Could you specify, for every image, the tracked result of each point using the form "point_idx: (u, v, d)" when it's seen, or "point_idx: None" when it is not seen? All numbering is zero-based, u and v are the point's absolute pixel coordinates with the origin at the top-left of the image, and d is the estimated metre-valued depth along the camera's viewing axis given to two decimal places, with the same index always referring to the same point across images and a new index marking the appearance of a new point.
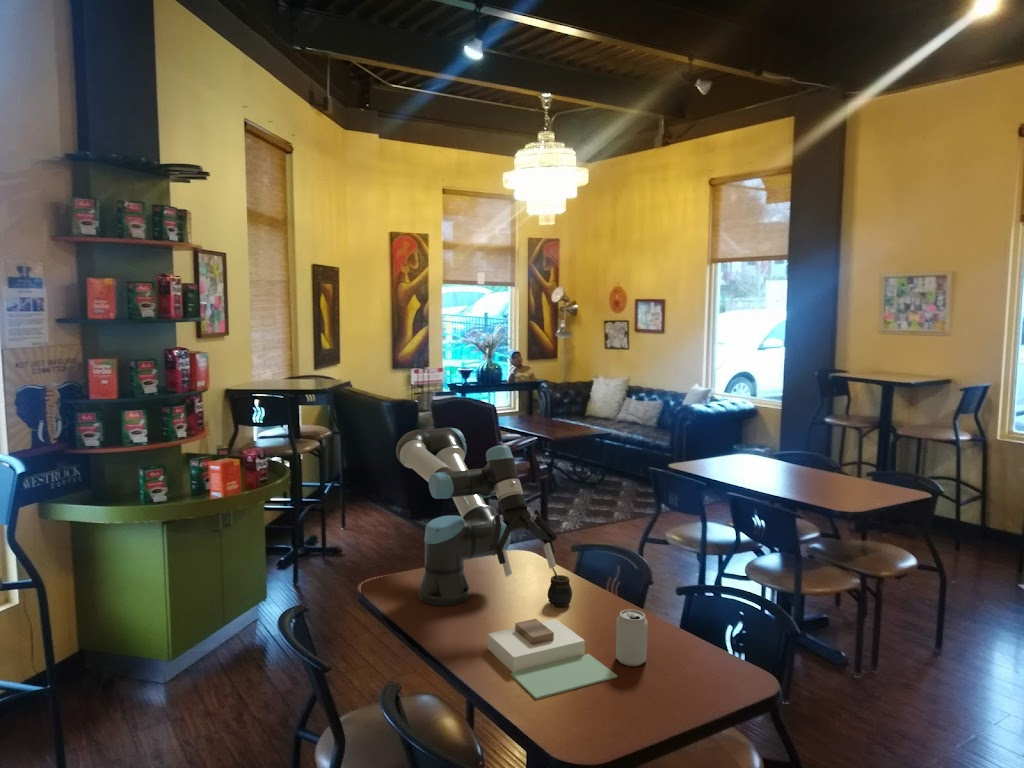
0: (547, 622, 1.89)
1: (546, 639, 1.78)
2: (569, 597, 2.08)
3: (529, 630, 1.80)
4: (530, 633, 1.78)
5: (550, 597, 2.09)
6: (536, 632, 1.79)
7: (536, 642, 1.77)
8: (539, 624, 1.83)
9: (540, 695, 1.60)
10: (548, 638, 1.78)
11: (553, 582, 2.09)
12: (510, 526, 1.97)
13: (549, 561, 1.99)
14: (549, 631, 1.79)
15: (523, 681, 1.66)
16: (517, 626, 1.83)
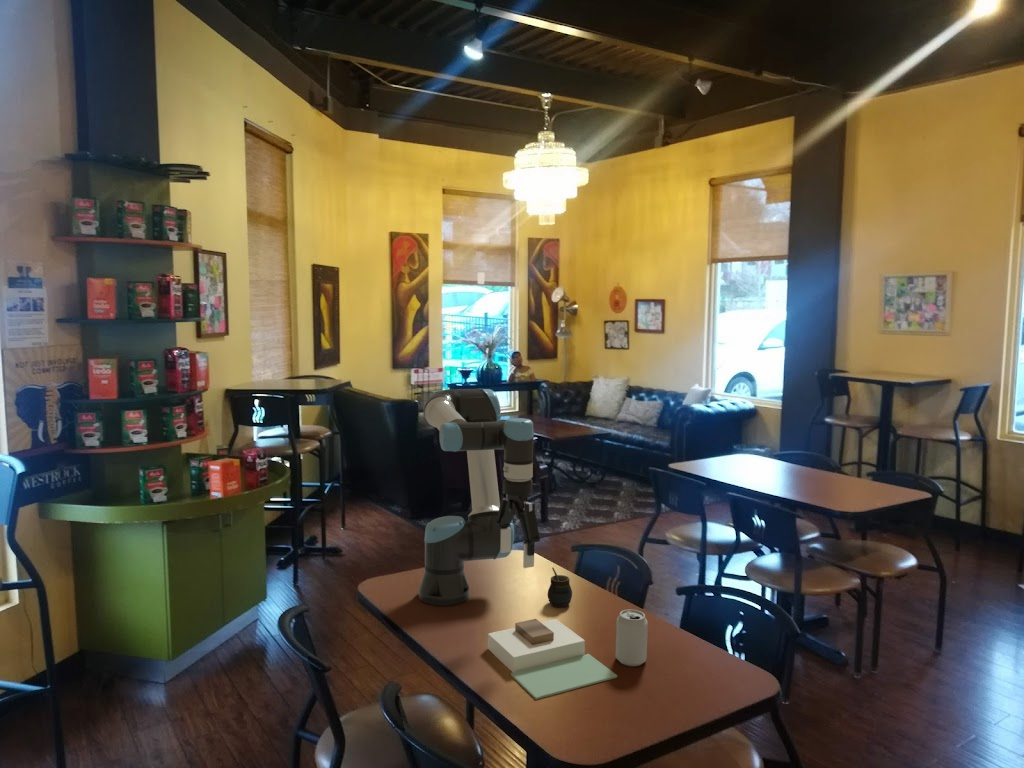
0: (547, 622, 1.89)
1: (546, 639, 1.78)
2: (569, 597, 2.08)
3: (529, 630, 1.80)
4: (530, 633, 1.78)
5: (550, 597, 2.09)
6: (536, 632, 1.79)
7: (536, 642, 1.77)
8: (539, 624, 1.83)
9: (540, 695, 1.60)
10: (548, 638, 1.78)
11: (553, 582, 2.09)
12: (505, 509, 1.90)
13: None
14: (549, 631, 1.79)
15: (523, 681, 1.66)
16: (517, 626, 1.83)
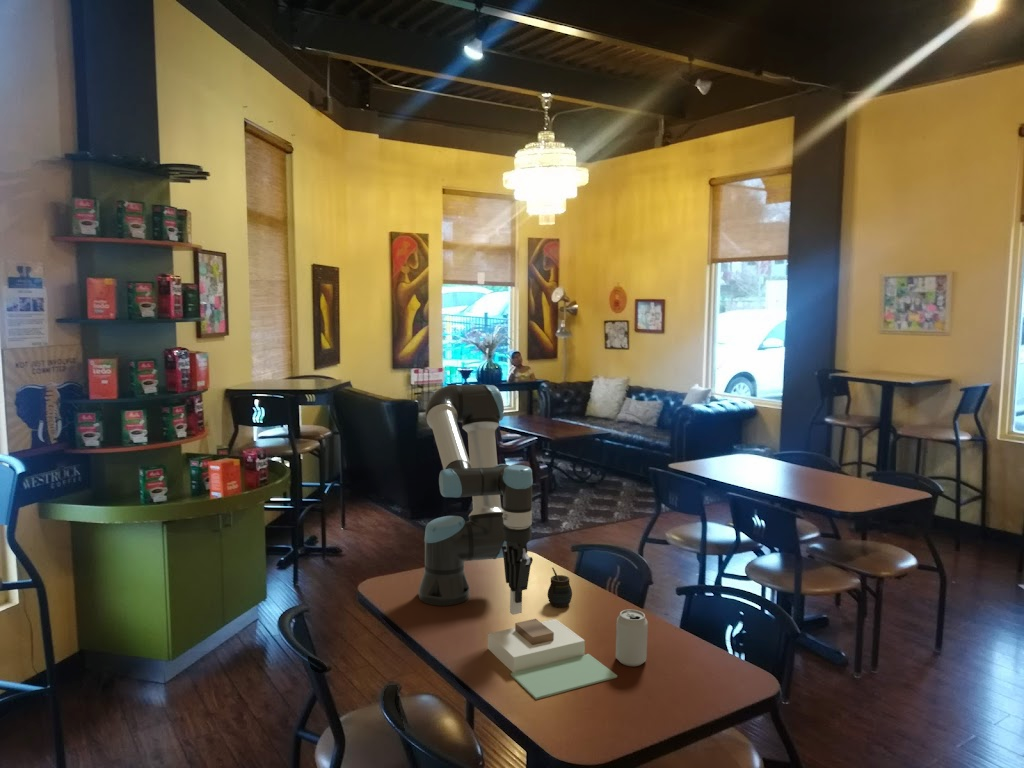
0: (547, 622, 1.89)
1: (546, 639, 1.78)
2: (569, 597, 2.08)
3: (529, 630, 1.80)
4: (530, 633, 1.78)
5: (550, 597, 2.09)
6: (536, 632, 1.79)
7: (536, 642, 1.77)
8: (539, 624, 1.83)
9: (540, 695, 1.60)
10: (548, 638, 1.78)
11: (553, 582, 2.09)
12: (508, 560, 1.89)
13: None
14: (549, 631, 1.79)
15: (523, 681, 1.66)
16: (517, 626, 1.83)
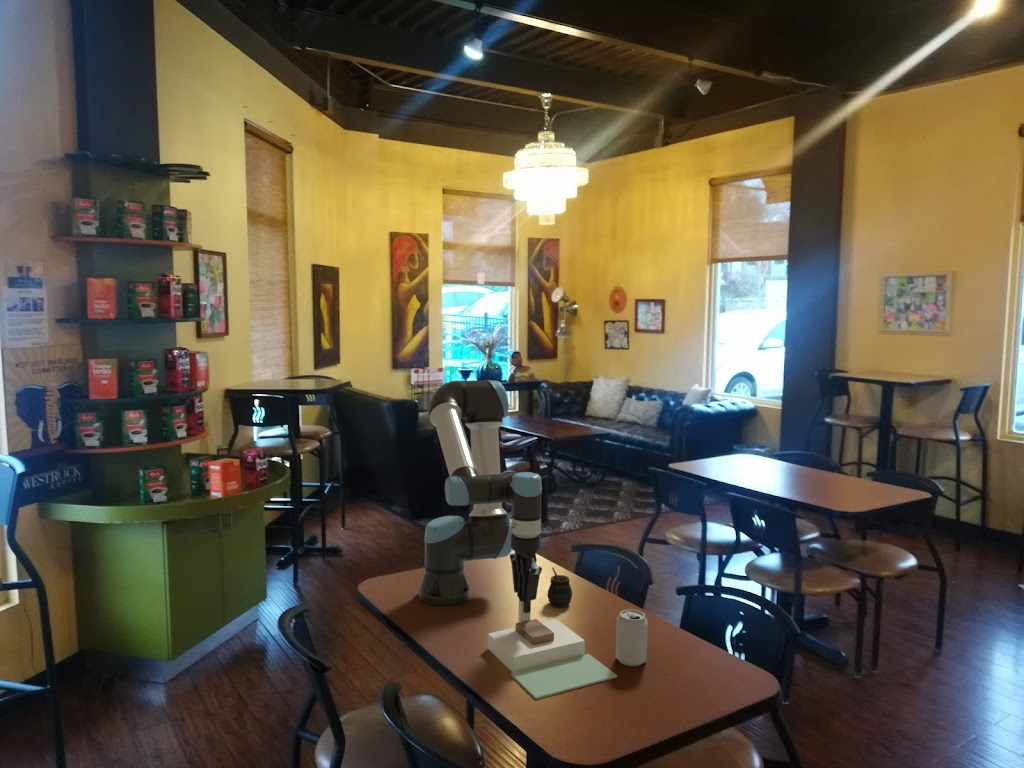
0: (547, 622, 1.89)
1: (546, 639, 1.78)
2: (569, 597, 2.08)
3: (529, 630, 1.80)
4: (530, 633, 1.78)
5: (550, 597, 2.09)
6: (536, 633, 1.78)
7: (536, 642, 1.77)
8: (539, 624, 1.83)
9: (540, 695, 1.60)
10: (548, 638, 1.78)
11: (553, 582, 2.09)
12: (516, 569, 1.85)
13: None
14: (549, 632, 1.79)
15: (523, 681, 1.66)
16: (517, 626, 1.83)
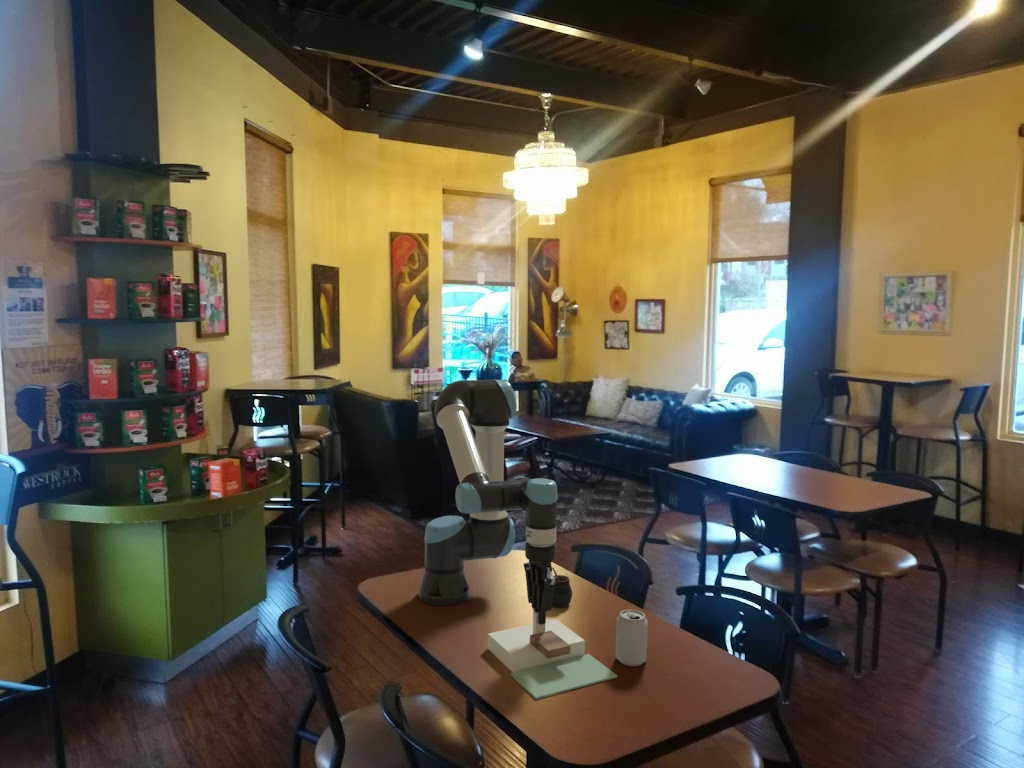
0: (547, 622, 1.89)
1: (562, 652, 1.71)
2: (569, 597, 2.08)
3: (545, 643, 1.73)
4: (546, 646, 1.71)
5: None
6: (551, 645, 1.72)
7: (552, 655, 1.70)
8: (555, 636, 1.77)
9: (540, 695, 1.60)
10: (564, 651, 1.71)
11: None
12: (531, 579, 1.78)
13: None
14: (565, 644, 1.73)
15: (523, 681, 1.66)
16: (532, 638, 1.76)
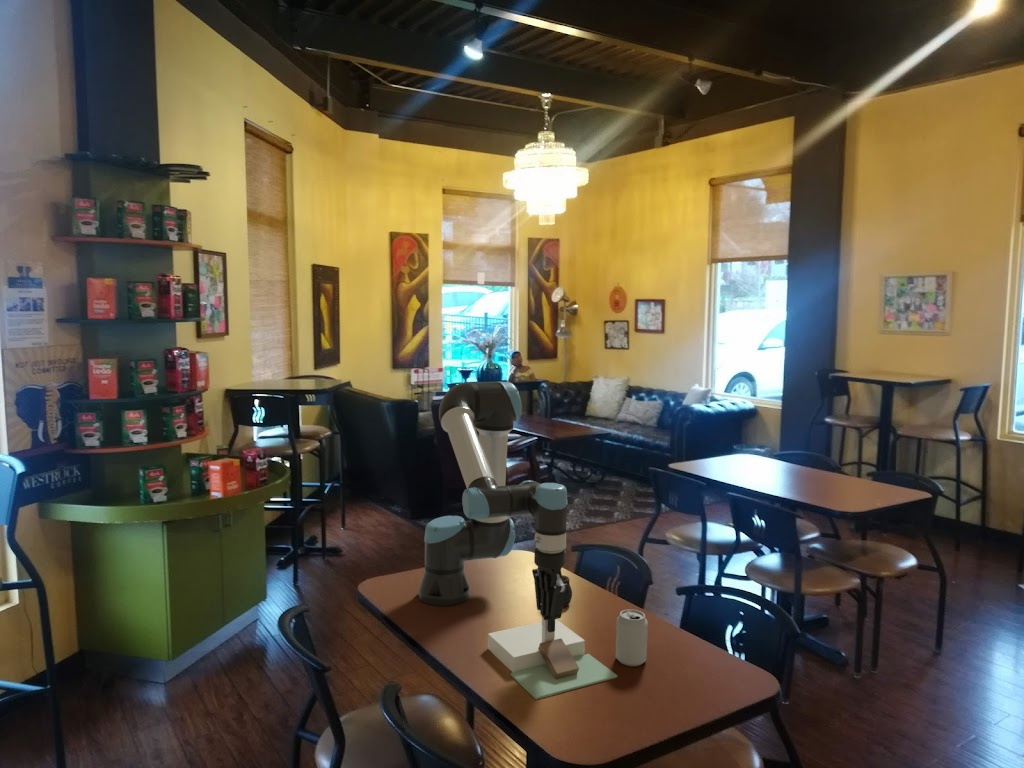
0: None
1: (570, 673, 1.68)
2: (569, 597, 2.08)
3: (554, 659, 1.69)
4: (555, 666, 1.68)
5: None
6: (561, 665, 1.68)
7: (559, 677, 1.67)
8: (564, 650, 1.73)
9: (540, 695, 1.60)
10: (572, 672, 1.69)
11: None
12: (540, 585, 1.75)
13: None
14: (574, 665, 1.69)
15: (523, 681, 1.66)
16: (541, 648, 1.72)
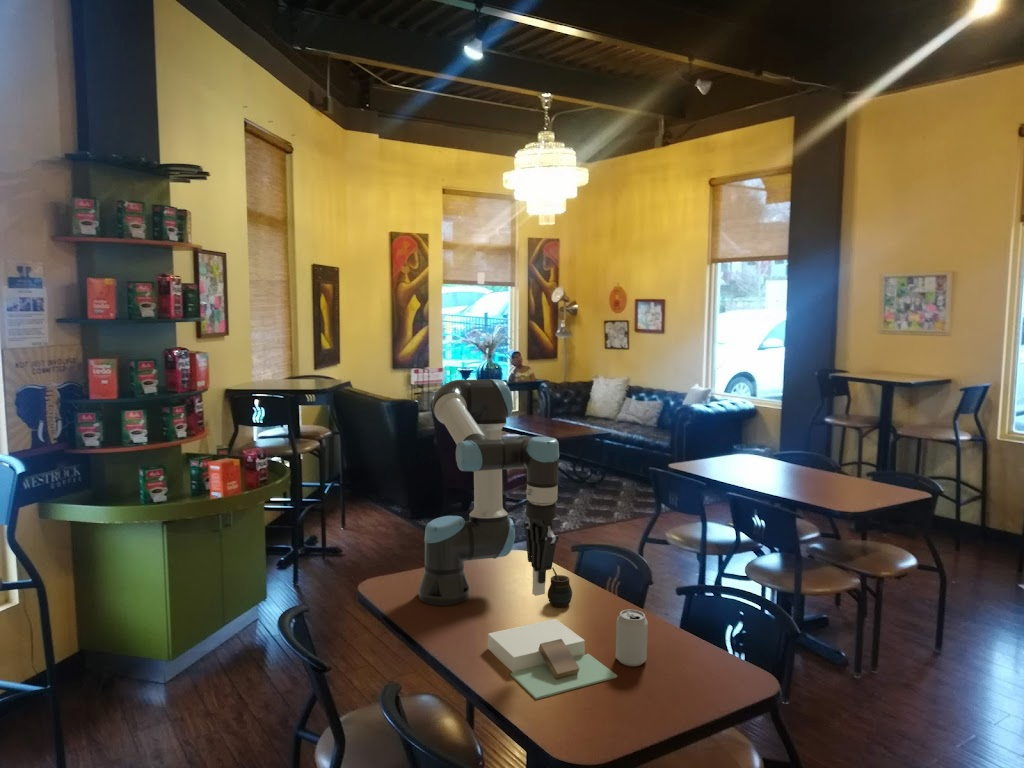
0: (547, 622, 1.89)
1: (570, 674, 1.68)
2: (569, 597, 2.08)
3: (554, 660, 1.69)
4: (555, 666, 1.68)
5: (550, 597, 2.09)
6: (561, 665, 1.68)
7: (560, 677, 1.67)
8: (565, 650, 1.72)
9: (540, 695, 1.60)
10: (572, 673, 1.68)
11: (553, 582, 2.09)
12: (531, 538, 1.77)
13: None
14: (575, 665, 1.69)
15: (523, 681, 1.66)
16: (542, 648, 1.72)
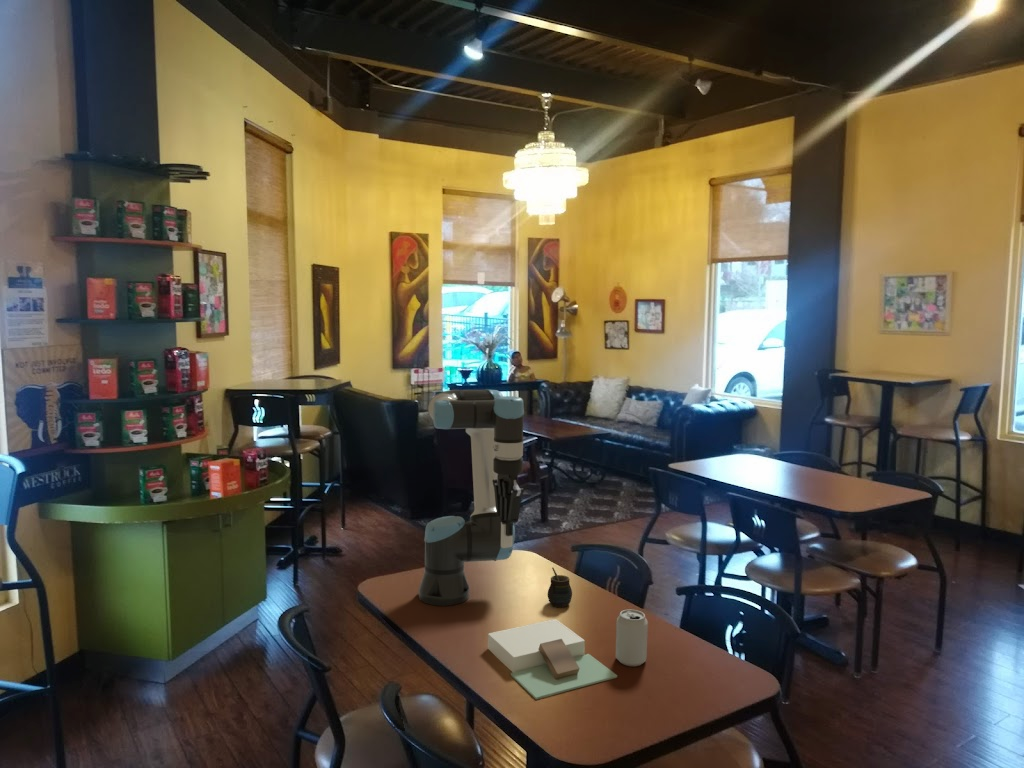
0: (547, 622, 1.89)
1: (570, 674, 1.68)
2: (569, 597, 2.08)
3: (554, 660, 1.69)
4: (555, 666, 1.68)
5: (550, 597, 2.09)
6: (561, 665, 1.68)
7: (560, 677, 1.67)
8: (565, 650, 1.72)
9: (540, 695, 1.60)
10: (572, 673, 1.68)
11: (553, 582, 2.09)
12: (499, 493, 1.86)
13: None
14: (575, 665, 1.69)
15: (523, 681, 1.66)
16: (542, 648, 1.72)
